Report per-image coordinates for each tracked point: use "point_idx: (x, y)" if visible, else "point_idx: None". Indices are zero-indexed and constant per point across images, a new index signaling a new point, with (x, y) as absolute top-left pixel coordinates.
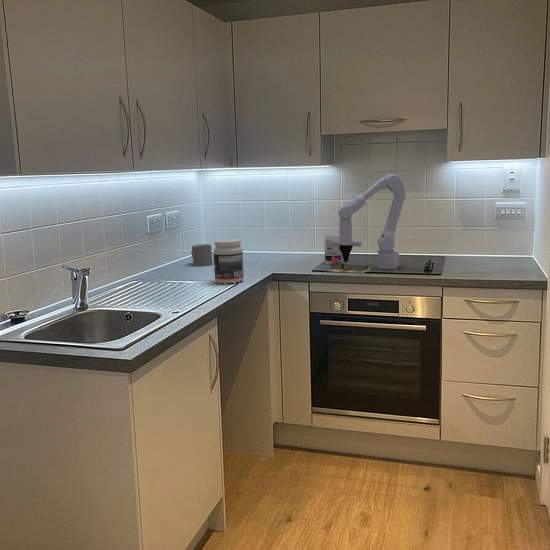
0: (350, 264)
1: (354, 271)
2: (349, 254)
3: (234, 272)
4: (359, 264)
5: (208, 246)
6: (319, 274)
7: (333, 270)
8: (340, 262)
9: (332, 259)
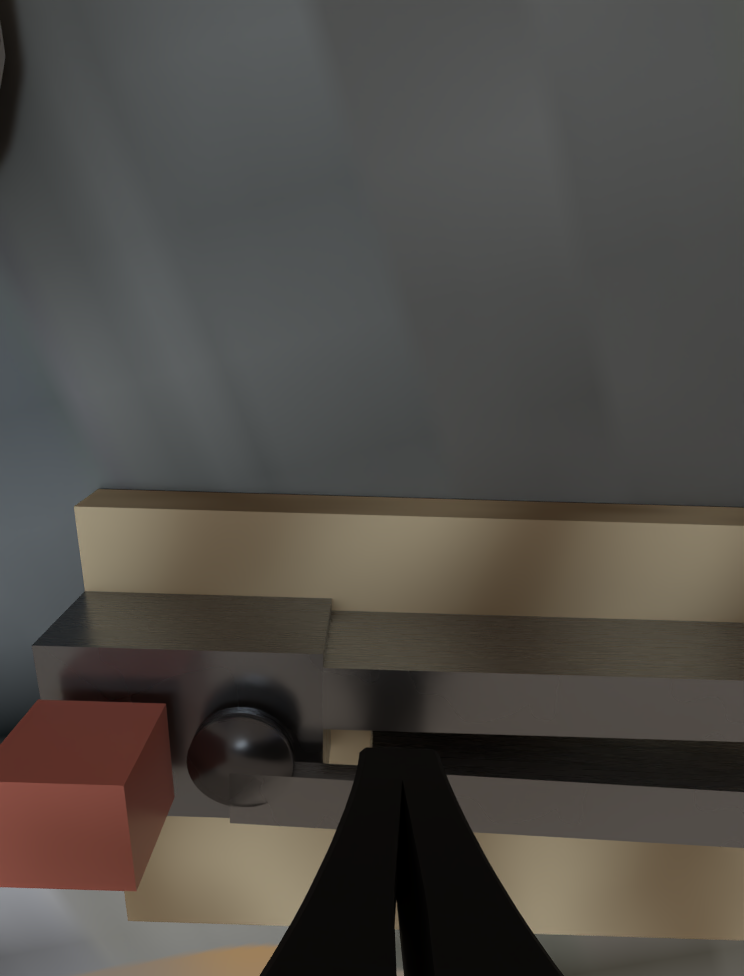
0: (532, 834)
1: (618, 868)
2: (509, 906)
3: None
4: (741, 806)
5: None
6: (85, 941)
7: (231, 862)
8: (256, 777)
9: (32, 872)
